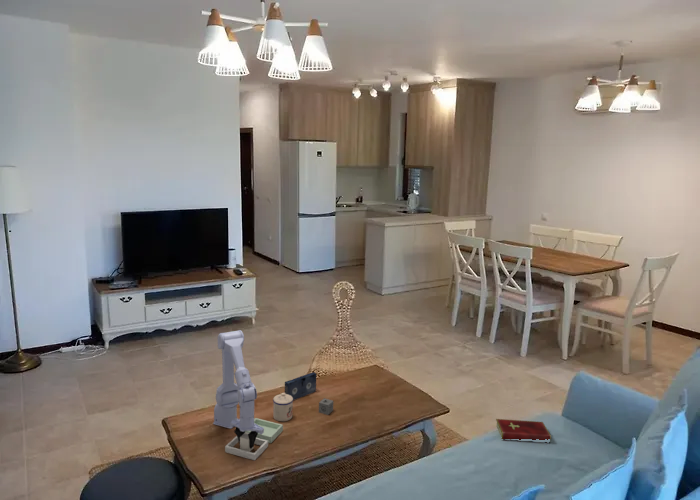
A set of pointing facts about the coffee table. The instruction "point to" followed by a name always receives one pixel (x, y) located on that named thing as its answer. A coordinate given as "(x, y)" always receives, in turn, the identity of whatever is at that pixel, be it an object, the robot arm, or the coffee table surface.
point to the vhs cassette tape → (301, 386)
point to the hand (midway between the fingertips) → (246, 445)
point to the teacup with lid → (283, 407)
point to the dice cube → (326, 406)
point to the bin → (246, 454)
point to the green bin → (268, 429)
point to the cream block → (245, 442)
